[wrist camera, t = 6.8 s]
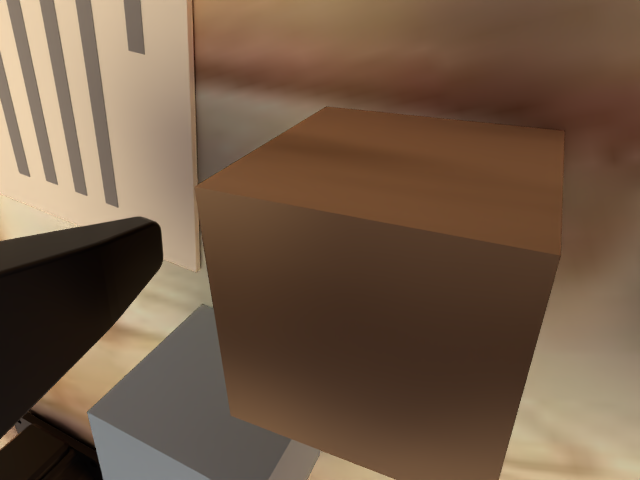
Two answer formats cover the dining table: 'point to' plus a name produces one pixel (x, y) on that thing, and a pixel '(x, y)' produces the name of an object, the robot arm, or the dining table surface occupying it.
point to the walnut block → (386, 285)
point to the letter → (102, 114)
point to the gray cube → (187, 419)
